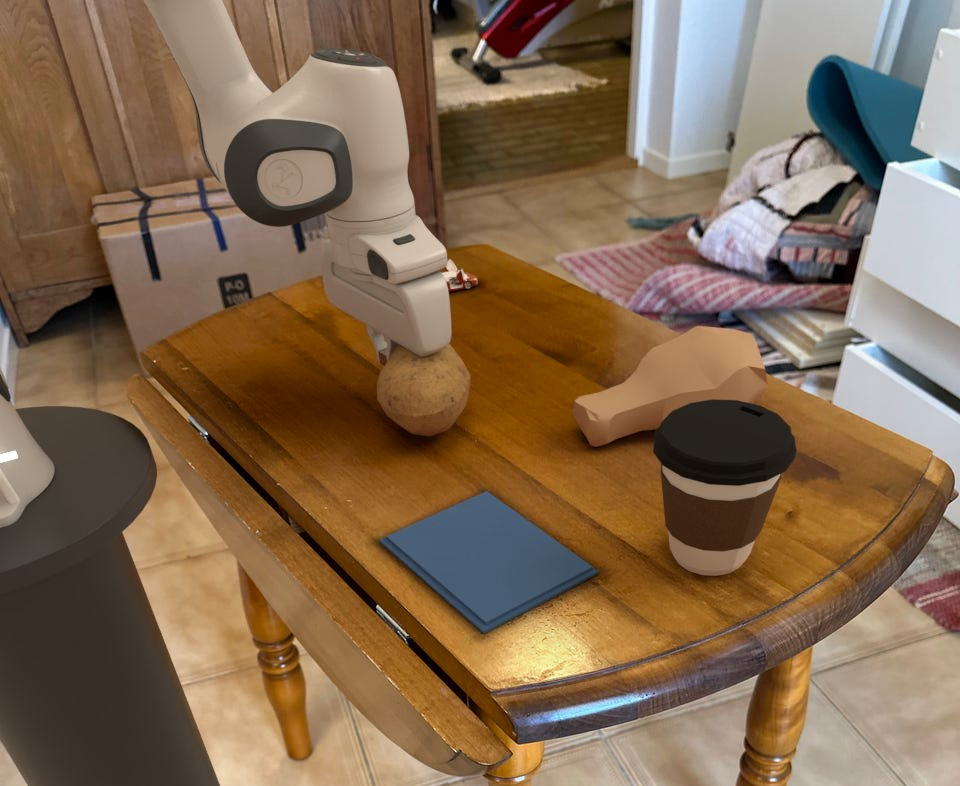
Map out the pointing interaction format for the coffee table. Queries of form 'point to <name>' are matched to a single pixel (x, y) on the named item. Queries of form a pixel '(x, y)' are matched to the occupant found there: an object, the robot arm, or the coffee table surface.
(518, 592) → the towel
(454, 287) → the toy car
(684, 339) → the squash
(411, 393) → the potato
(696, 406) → the coffee cup
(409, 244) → the robot arm
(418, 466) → the coffee table surface
